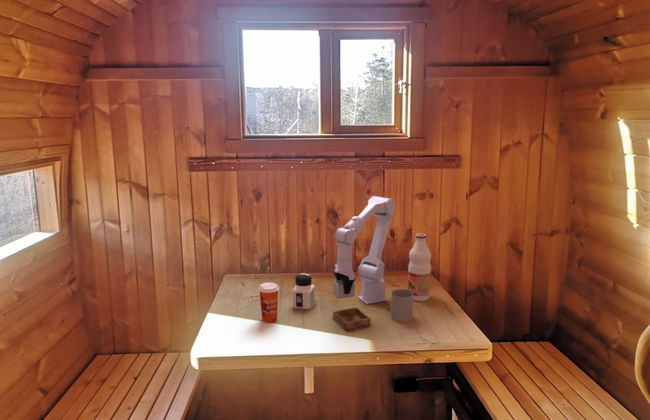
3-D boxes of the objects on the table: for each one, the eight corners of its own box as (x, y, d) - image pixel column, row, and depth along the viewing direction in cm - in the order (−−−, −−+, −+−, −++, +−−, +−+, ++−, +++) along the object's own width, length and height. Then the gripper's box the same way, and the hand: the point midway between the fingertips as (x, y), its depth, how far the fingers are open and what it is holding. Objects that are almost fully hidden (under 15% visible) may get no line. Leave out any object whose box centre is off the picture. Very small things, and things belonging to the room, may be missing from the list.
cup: (414, 314, 197) (414, 290, 195) (410, 323, 189) (411, 298, 187) (392, 311, 200) (393, 288, 197) (388, 320, 192) (389, 295, 190)
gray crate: (349, 291, 201) (349, 278, 200) (354, 296, 196) (354, 283, 195) (333, 294, 198) (333, 281, 197) (338, 298, 194) (338, 285, 192)
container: (310, 309, 202) (310, 279, 199) (292, 308, 203) (291, 277, 200) (314, 302, 209) (314, 272, 206) (297, 300, 211) (296, 271, 208)
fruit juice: (427, 303, 208) (430, 238, 202) (405, 300, 211) (407, 236, 205) (430, 294, 216) (433, 232, 210) (409, 292, 219) (411, 230, 213)
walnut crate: (356, 314, 197) (357, 307, 196) (370, 326, 187) (370, 318, 186) (333, 318, 193) (333, 311, 192) (345, 330, 183) (345, 323, 182)
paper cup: (263, 325, 187) (262, 290, 184) (256, 318, 194) (255, 284, 191) (283, 321, 191) (282, 287, 188) (275, 314, 198) (274, 280, 194)
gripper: (328, 254, 199) (327, 286, 202) (342, 265, 186) (342, 299, 189) (344, 252, 202) (343, 284, 205) (359, 263, 189) (359, 296, 191)
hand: (344, 291), depth 197 cm, fingers closed on gray crate, 5 cm apart
